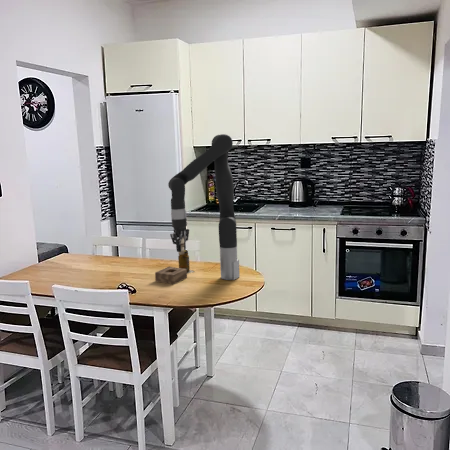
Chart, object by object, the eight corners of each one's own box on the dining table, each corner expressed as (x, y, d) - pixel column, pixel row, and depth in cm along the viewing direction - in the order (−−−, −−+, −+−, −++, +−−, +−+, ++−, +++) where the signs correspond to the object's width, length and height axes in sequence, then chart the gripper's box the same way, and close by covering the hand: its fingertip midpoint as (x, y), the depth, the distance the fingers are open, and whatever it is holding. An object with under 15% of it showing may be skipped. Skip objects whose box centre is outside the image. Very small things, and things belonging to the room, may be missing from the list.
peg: (186, 253, 220) (185, 238, 218) (182, 255, 217) (181, 239, 215) (180, 252, 222) (179, 237, 220) (176, 254, 219) (175, 239, 217)
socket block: (187, 277, 232) (186, 269, 231) (173, 284, 222) (173, 275, 221) (169, 275, 238) (168, 266, 237) (155, 281, 228) (155, 272, 227)
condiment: (186, 268, 250) (185, 248, 248) (194, 271, 243) (193, 251, 241) (175, 271, 245) (174, 251, 243) (183, 274, 239) (182, 253, 237)
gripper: (176, 220, 208) (179, 254, 211) (192, 215, 220) (195, 248, 223) (164, 219, 212) (167, 253, 215) (180, 215, 224) (183, 247, 227)
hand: (181, 250), depth 219 cm, fingers closed on peg, 3 cm apart
